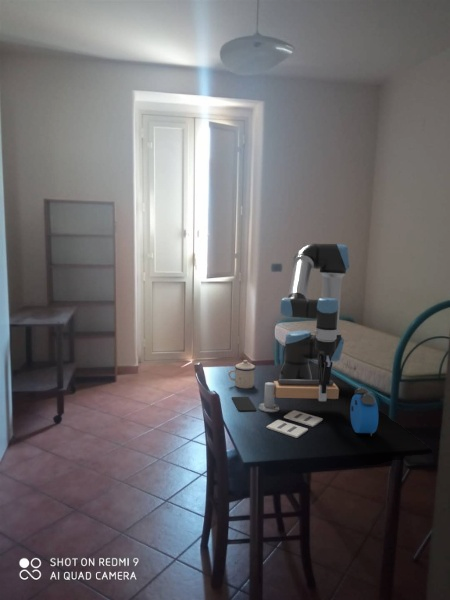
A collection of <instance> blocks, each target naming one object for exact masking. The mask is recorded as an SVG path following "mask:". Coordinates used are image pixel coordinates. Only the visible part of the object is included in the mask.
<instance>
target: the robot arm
mask: <svg viewBox="0 0 450 600" xmlns="http://www.w3.org/2000/svg"><path fill="white" fill-rule="evenodd" d="M292 269H293V271H292V274H291V280H290V285H289V290H288V294H287V295H288V296H287V297H282V299H281V300H280V314H281V316H283V317H289V318H301V319H313V320H314V319H315V320H316V326H315V327H316V330H314V333H315V334H312V333H311V331H310V330H303V329H302V330H294V331H289V332H287V334H285V341H284V359H283V361H284V362H283V365H282V367H281V370H280V372H279V379H296V380H313V379H312V378H313V377H312V371H311V367H310V361H317V380H319V396H318V398H317V400H318V402H327V399H326V397H327V385H329V382H330V380H331V372H332V366H333V364H334V363H336V362H339V361H340V360H341V356H342V353H343V349H344V343H345V338H344V337H343V336H342V333H341V331H340V330H339V324H340V323H339V322H340V309H341V295H342V294H341V293H342V281H343V278H344V277H345V276H346V273H347V272H348V271H350V256H349V248H348V246H347V245H346V244H339V243H310V244H307V245H305V246H304V247H302V248H300V249H299V250H298V251H297V252H296V254H295V255H294V257H293V260H292ZM314 269H316V270H319V275H321V276H322V284H321V297H320V298H318V299H312V298H311V299H309V298H308V291H309V285H310V279H311V278H310V277H311V272H312V271H313V270H314Z"/></svg>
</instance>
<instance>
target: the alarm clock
mask: <svg viewBox="0 0 450 600" xmlns="http://www.w3.org/2000/svg"><path fill="white" fill-rule="evenodd" d="M349 413H350V422H351V426H352V429H353V431H354V432H355V433H357V434H370V437H372V436H373V434H374V433H375V432H376V431H377V430H378V425H379V408H378V403H377V400H376V397H375V396H374V395H373V394H371V393H370V391H369V390H368V389H367V388H366V387H362V386H361V387H358V388H357V389H355V391H354V395H353V396H352V398H351V401H350V411H349Z"/></svg>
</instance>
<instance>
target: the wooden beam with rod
mask: <svg viewBox="0 0 450 600" xmlns="http://www.w3.org/2000/svg"><path fill="white" fill-rule="evenodd" d="M339 393H340V389H339V387H338V385H336V383H335V382H334V380H332V379H330V382H329V385H327V397H326V400H327V399H328V400H329V399H331V400H336V399H337V400H338V399H339ZM263 396H264V397H263V403H264V406H265V407H267V408H272V407H274V404H275V398H280V399H281V398H284V399H318V396H319V380H318V379H312V380H296V379H280V378H279V379H278V380H273V382H265V383H264V395H263Z"/></svg>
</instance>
